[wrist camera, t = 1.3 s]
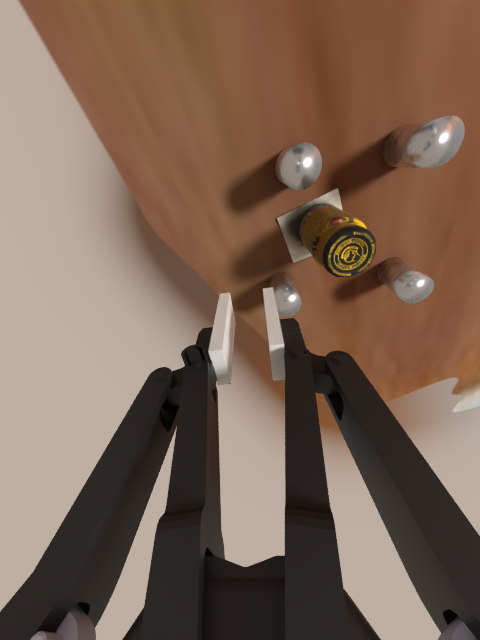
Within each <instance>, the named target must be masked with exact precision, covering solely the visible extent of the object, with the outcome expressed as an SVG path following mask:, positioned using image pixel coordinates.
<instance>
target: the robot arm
mask: <svg viewBox="0 0 480 640" xmlns="http://www.w3.org/2000/svg"><path fill="white" fill-rule="evenodd" d="M263 296H264V305H265V315H266V324H267V332H268V341H269V349H270V357H271V366H272V375H273V380H283V379H284V380H285V461H286V463H285V468H286V469H285V471H286V472H285V474H286V475H285V476H286V503H285V556H275V557H272V558H269V559H267V560H264V561H262V562H259V563H257V564H254V565H251V566H249V567H242V566H239V565H237V564H234V563H232V562H229V561H227V560H225V556H224V544H223V538H222V532H221V507H220V506H221V505H220V469H219V431H218V394H217V388H216V381H217V382H218V385H223V384H231V373H232V361H233V347H234V334H235V317H234V312H233V307H232V302H231V296H230V293H223V294H220V297H219V302H218V306H217V311H216V316H215V322H214V326H213V327H211V328H203V329H202V330H201V331H200V332H199V334H198V339H197V341H196V345H191V346H189V347H187V348H185V349H184V350H183V351H182V353H181V356H182V359H183V361H184V364H185V367H183V368H181V369H178V370H175V371H171V370H170V369H169V368H167V367H162V368H158V369H156V370H155V371H153V372H152V373H151V374H150V375H149V377H148V378H147V380H146V382H145V383H144V385H143V387H142V389H141V390H140V392H139V394H138V395H137V397H136V399H135V400H134V402H133V404H132V405H131V407H130V409H129V410H128V412H127V414H126V416H125V417H124V419H123V421H122V422H121V424H120V426H119V427H118V429H117V431H116V433H115V434H114V436H113V438H112V439H111V441H110V443H109V444H108V446H107V448H106V449H105V451H104V453H103V455H102V456H101V458H100V460H99V461H98V463H97V465H96V466H95V468H94V470H93V472H92V473H91V475H90V477H89V478H88V480H87V482H86V483H85V485H84V487H83V489H82V490H81V492H80V493H79V495H78V497H77V499H76V500H75V502H74V504H73V506H72V507H71V509H70V511H69V512H68V514H67V516H66V517H65V519H64V521H63V522H62V524H61V526H60V527H59V529H58V531H57V533H56V534H55V536H54V538H53V539H52V541H51V543H50V545H49V546H48V548H47V550H46V551H45V553H44V555H43V556H42V558H41V560H40V561H39V563H38V565H37V566H36V568H35V570H34V572H33V573H32V574H31V575H30V577H29V578H28V579H27V580H26V581H25V583H24V584H23V585H22V586H21V587H20V589H19V590H18V591H17V592H16V594H15V595H14V596H13V597H12V599H11V600H10V601H9V602H8V603H7V604H6V606H5V607H4V608H3V609H2V610H1V612H0V640H96V633H95V627H96V625H97V623H98V622H99V620H100V618H101V616H102V614H103V612H104V610H105V608H106V606H107V604H108V602H109V600H110V598H111V596H112V594H113V591H114V589H115V586H116V584H117V582H118V579H119V577H120V574H121V572H122V569H123V567H124V564H125V562H126V559H127V556H128V554H129V551H130V548H131V546H132V543H133V540H134V538H135V535H136V532H137V530H138V527H139V524H140V521H141V519H142V516H143V514H144V511H145V509H146V506H147V503H148V501H149V498H150V495H151V493H152V490H153V487H154V485H155V482H156V479H157V477H158V474H159V472H160V469H161V466H162V464H163V461H164V458H165V456H166V453H167V450H168V448H169V445H170V442H171V440H172V437H173V434H174V432H175V429H176V427H177V431H176V438H175V446H174V453H173V460H172V467H171V475H170V483H169V490H168V498H167V505H166V510H165V513H164V514H163V515H162V517H161V518H160V519H159V522H158V524H157V529H156V534H155V540H154V547H153V554H152V560H151V567H150V573H149V579H148V586H147V592H146V599H145V606H144V608H143V610H142V611H141V613H140V614H139V616H138V617H137V619H136V620H135V622H134V623H133V625H132V626H131V628H130V629H129V631H128V632H127V634H126V635H125V637H124V638H123V640H381V639H380V638H379V637H378V635H377V634H376V632H375V631H374V630H373V628H372V627H371V626H370V624H369V623H368V621H367V620H366V618H365V617H364V616H363V614H362V613H361V611H360V610H359V609H358V607H357V606H356V604H355V603H354V602H353V601H352V599H351V597H350V596H349V595H348V594H347V592H346V591H345V590H344V589H343V583H342V575H341V568H340V561H339V553H338V547H337V539H336V532H335V525H334V519H333V515H332V512H331V509H330V503H329V495H328V488H327V480H326V472H325V464H324V457H323V449H322V442H321V433H320V426H319V418H318V411H317V403H316V395H315V393H320V394H324V396H325V399H326V401H327V403H328V405H329V407H330V409H331V411H332V414H333V416H334V417H335V420H336V422H337V424H338V426H339V428H340V431H341V433H342V435H343V437H344V439H345V441H346V443H347V445H348V448H349V450H350V452H351V454H352V456H353V458H354V460H355V463H356V464H357V467H358V469H359V471H360V473H361V475H362V477H363V480H364V482H365V484H366V486H367V488H368V490H369V492H370V495H371V496H372V499H373V501H374V503H375V505H376V507H377V509H378V512H379V514H380V516H381V518H382V520H383V522H384V524H385V527H386V529H387V530H388V533H389V535H390V537H391V539H392V541H393V544H394V545H395V548H396V550H397V552H398V554H399V556H400V558H401V561H402V563H403V565H404V567H405V569H406V571H407V573H408V575H409V577H410V579H411V581H412V583H413V585H414V587H415V589H416V591H417V593H418V595H419V597H420V599H421V601H422V602H423V604H424V605H425V607H426V609H427V610H428V612H429V614H430V616H431V617H432V619H433V621H434V622H435V624H436V625H437V627H438V629H439V630H440V632H441V635H440V637H439V639H438V640H480V536H479V535H478V533H477V532H476V530H475V529H474V528H473V526H472V525H471V523H470V522H469V521H468V519H467V518H466V516H465V515H464V514H463V512H462V511H461V509H460V508H459V507H458V505H457V504H456V502H455V501H454V500H453V498H452V497H451V495H450V494H449V493H448V491H447V490H446V488H445V487H444V486H443V484H442V483H441V482H440V480H439V479H438V477H437V476H436V474H435V473H434V472H433V470H432V469H431V467H430V466H429V464H428V463H427V462H426V460H425V459H424V457H423V456H422V455H421V453H420V452H419V451H418V449H417V448H416V446H415V445H414V443H413V442H412V441H411V439H410V438H409V437H408V435H407V434H406V432H405V431H404V429H403V428H402V426H401V425H400V424H399V423H398V421H397V420H396V418H395V417H394V415H393V414H392V412H391V411H390V410H389V408H388V407H387V406H386V404H385V403H384V401H383V400H382V398H381V397H380V396H379V394H378V393H377V391H376V390H375V389H374V387H373V386H372V384H371V383H370V382H369V380H368V379H367V377H366V376H365V374H364V373H363V372H362V370H361V369H360V367H359V366H358V365H357V363H356V362H355V360H354V359H353V358H352V357H351V356H350V355H349V354H347V353H345V352H342V351H333V352H330V353H328V354H327V356H326V357H325V356H318V355H314V354H312V353H310V352H309V350H308V349H306V346H305V343H304V340H303V337H302V334H301V330H300V327H299V324H298V322H297V321H296V320H295V319H294V318H290V319H280V320H279V316H278V311H277V306H276V301H275V296H274V291H273V287H272V288H263Z"/></svg>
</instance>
